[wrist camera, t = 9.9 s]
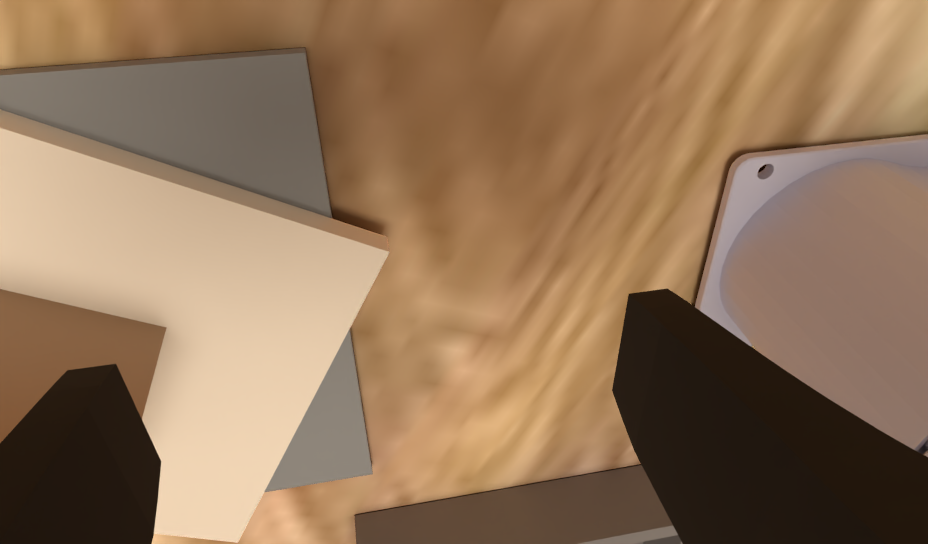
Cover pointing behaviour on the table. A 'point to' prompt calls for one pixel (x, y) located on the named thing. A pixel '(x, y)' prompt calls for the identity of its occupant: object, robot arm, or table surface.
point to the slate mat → (219, 178)
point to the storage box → (533, 515)
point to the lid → (173, 309)
